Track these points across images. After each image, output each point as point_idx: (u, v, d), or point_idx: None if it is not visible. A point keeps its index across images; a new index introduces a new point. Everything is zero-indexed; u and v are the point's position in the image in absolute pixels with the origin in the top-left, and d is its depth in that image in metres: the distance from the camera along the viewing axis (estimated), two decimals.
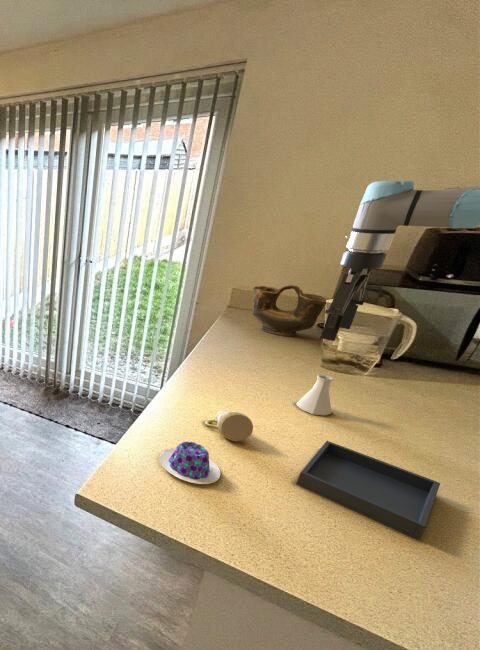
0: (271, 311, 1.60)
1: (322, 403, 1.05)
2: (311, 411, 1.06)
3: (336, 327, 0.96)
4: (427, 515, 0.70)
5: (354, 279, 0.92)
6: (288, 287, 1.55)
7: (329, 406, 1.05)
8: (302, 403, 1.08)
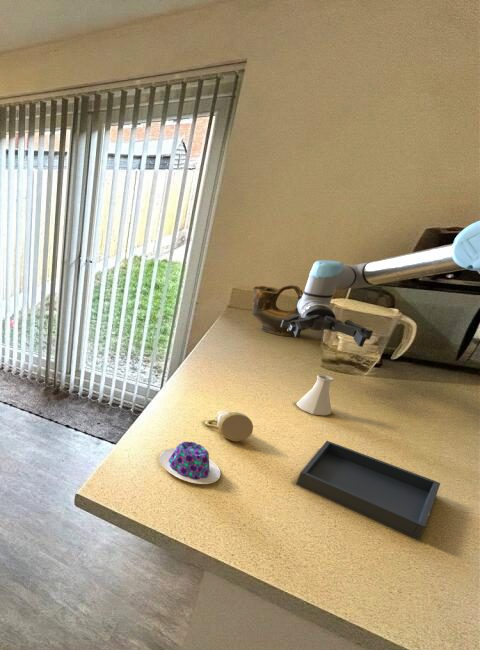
0: (271, 311, 1.60)
1: (322, 403, 1.05)
2: (311, 411, 1.06)
3: (296, 326, 1.14)
4: (427, 515, 0.70)
5: (293, 315, 1.23)
6: (288, 287, 1.55)
7: (329, 406, 1.05)
8: (302, 403, 1.08)
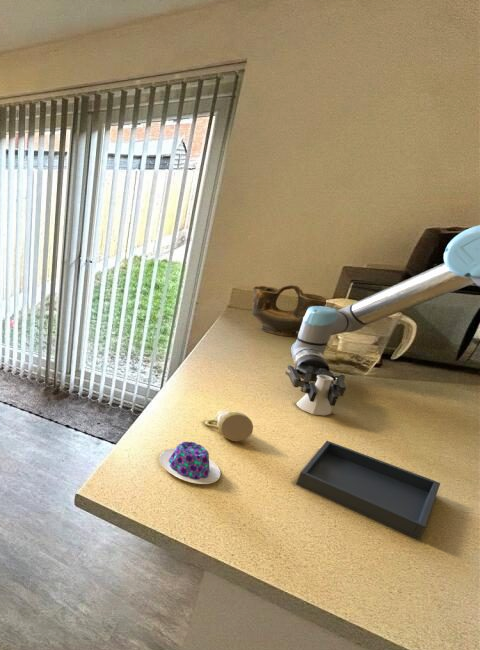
0: (271, 311, 1.60)
1: (322, 403, 1.05)
2: (311, 411, 1.06)
3: (310, 388, 1.05)
4: (427, 515, 0.70)
5: (288, 367, 1.16)
6: (288, 287, 1.55)
7: (329, 406, 1.05)
8: (302, 403, 1.08)
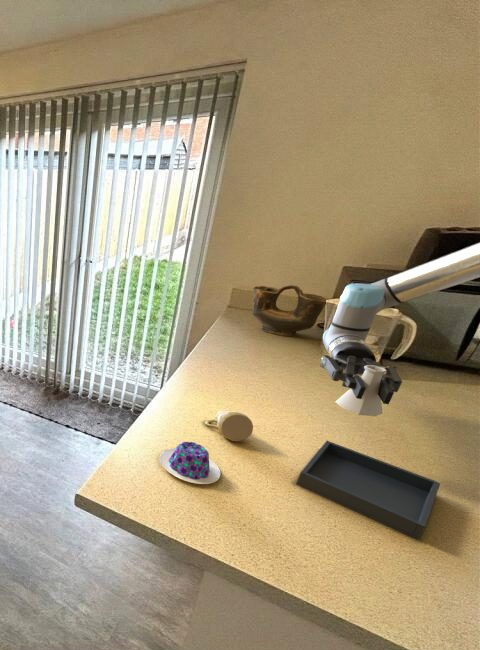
0: (271, 311, 1.60)
1: (371, 401, 0.83)
2: (357, 411, 0.84)
3: (356, 381, 0.83)
4: (427, 515, 0.70)
5: (324, 357, 0.95)
6: (288, 287, 1.55)
7: (380, 405, 0.83)
8: (344, 400, 0.86)
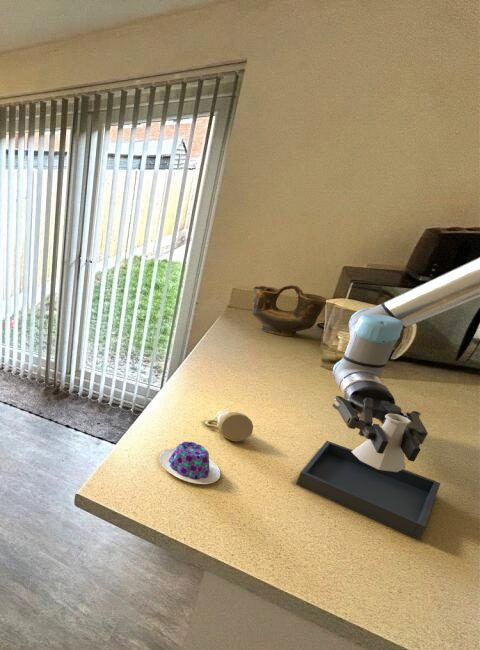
0: (271, 311, 1.60)
1: (393, 454, 0.74)
2: (376, 465, 0.75)
3: (376, 432, 0.74)
4: (427, 515, 0.70)
5: (337, 399, 0.85)
6: (288, 287, 1.55)
7: (402, 458, 0.74)
8: (362, 452, 0.77)
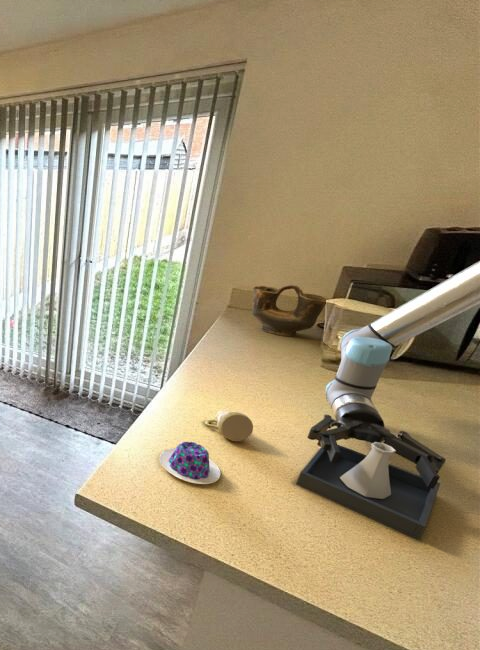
0: (271, 311, 1.60)
1: (379, 482, 0.76)
2: (363, 492, 0.77)
3: (331, 444, 0.80)
4: (427, 515, 0.70)
5: (324, 417, 0.89)
6: (288, 287, 1.55)
7: (388, 486, 0.77)
8: (349, 478, 0.80)
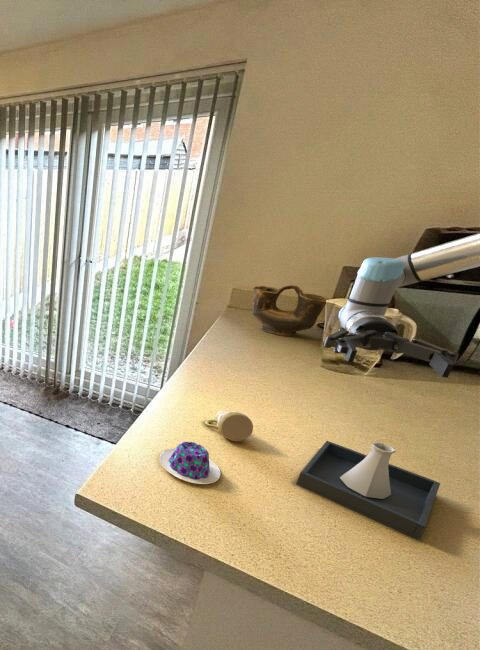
0: (271, 311, 1.60)
1: (379, 482, 0.76)
2: (363, 492, 0.77)
3: (348, 346, 0.84)
4: (427, 515, 0.70)
5: (339, 330, 0.93)
6: (288, 287, 1.55)
7: (388, 486, 0.77)
8: (349, 478, 0.80)
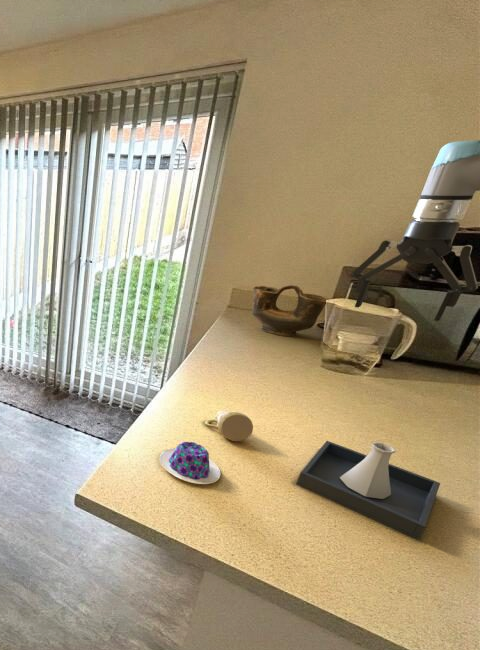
0: (271, 311, 1.60)
1: (379, 482, 0.76)
2: (363, 492, 0.77)
3: None
4: (427, 515, 0.70)
5: None
6: (288, 287, 1.55)
7: (388, 486, 0.77)
8: (349, 478, 0.80)
